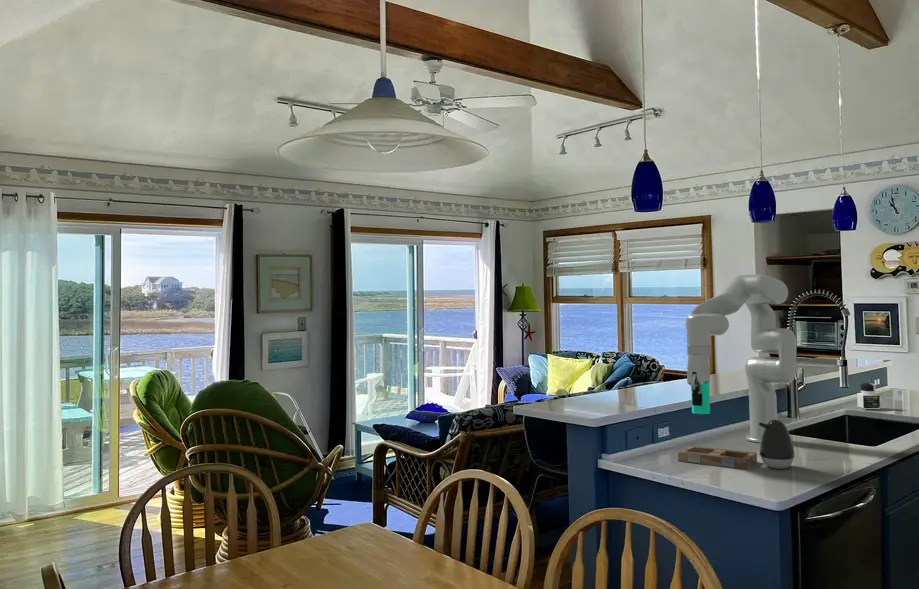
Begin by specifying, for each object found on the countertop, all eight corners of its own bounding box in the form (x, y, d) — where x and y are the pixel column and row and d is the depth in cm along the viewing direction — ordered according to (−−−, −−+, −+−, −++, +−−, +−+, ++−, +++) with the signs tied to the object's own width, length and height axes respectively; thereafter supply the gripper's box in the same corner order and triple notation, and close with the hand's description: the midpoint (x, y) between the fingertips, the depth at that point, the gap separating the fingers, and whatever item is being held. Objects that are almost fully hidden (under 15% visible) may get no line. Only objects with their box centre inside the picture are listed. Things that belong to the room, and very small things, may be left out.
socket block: (691, 454, 240) (690, 445, 240) (756, 461, 226) (756, 452, 227) (678, 461, 230) (677, 452, 230) (746, 469, 217) (745, 460, 217)
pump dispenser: (754, 463, 224) (752, 417, 224) (786, 462, 224) (784, 416, 224) (767, 471, 214) (765, 422, 214) (800, 470, 214) (799, 422, 214)
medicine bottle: (863, 410, 316) (862, 384, 316) (857, 408, 323) (856, 382, 323) (880, 410, 315) (879, 384, 315) (873, 407, 322) (872, 382, 322)
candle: (688, 412, 234) (686, 377, 234) (701, 410, 236) (700, 376, 237) (700, 414, 229) (699, 378, 229) (714, 413, 231) (713, 377, 231)
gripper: (696, 349, 242) (698, 400, 241) (678, 352, 228) (680, 406, 228) (718, 349, 237) (719, 401, 237) (701, 353, 224) (703, 408, 223)
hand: (700, 403), depth 232 cm, fingers closed on candle, 5 cm apart
